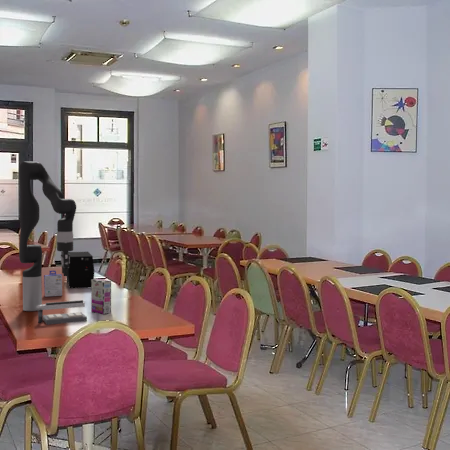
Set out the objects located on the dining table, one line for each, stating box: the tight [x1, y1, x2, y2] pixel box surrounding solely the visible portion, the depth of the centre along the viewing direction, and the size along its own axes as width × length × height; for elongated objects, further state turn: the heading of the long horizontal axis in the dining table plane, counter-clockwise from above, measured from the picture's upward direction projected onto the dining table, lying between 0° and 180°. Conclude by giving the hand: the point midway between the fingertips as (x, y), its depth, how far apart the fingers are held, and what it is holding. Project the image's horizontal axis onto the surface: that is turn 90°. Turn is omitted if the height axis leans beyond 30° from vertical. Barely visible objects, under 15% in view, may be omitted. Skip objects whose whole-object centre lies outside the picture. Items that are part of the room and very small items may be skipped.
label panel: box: [43, 311, 88, 326], centre depth 278 cm, size 12×18×3 cm, turn 116°
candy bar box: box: [90, 278, 112, 315], centre depth 297 cm, size 11×5×16 cm, turn 45°
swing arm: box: [37, 299, 86, 311], centre depth 277 cm, size 22×3×3 cm, turn 116°
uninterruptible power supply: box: [65, 251, 95, 289], centre depth 389 cm, size 16×34×20 cm, turn 18°
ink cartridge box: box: [43, 270, 63, 297], centre depth 346 cm, size 10×6×14 cm, turn 114°
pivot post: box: [37, 310, 44, 324], centre depth 274 cm, size 2×2×6 cm
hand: (65, 274), depth 284 cm, fingers open, 8 cm apart
